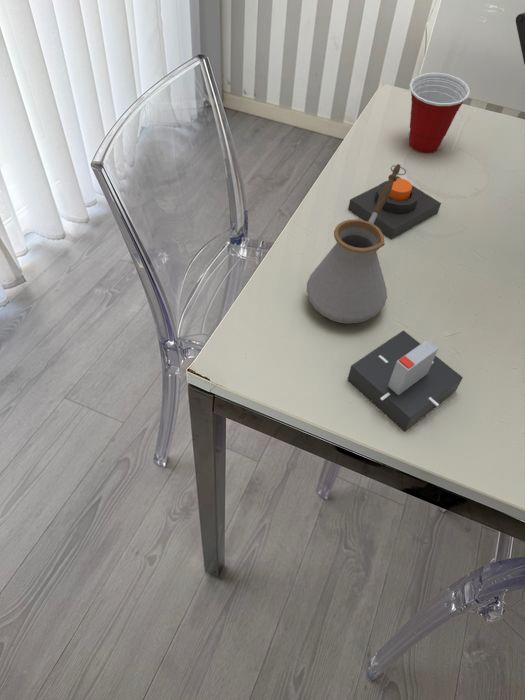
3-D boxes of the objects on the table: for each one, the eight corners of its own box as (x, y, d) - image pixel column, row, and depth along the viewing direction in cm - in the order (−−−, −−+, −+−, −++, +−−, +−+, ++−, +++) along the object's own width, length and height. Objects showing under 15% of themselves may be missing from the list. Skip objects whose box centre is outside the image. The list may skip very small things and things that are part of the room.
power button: (396, 184, 97) (399, 175, 95) (414, 195, 95) (417, 186, 94) (380, 192, 95) (382, 183, 94) (398, 203, 93) (401, 194, 92)
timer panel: (398, 344, 78) (403, 329, 76) (461, 395, 73) (469, 380, 71) (342, 382, 74) (346, 367, 71) (405, 440, 68) (411, 426, 66)
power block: (394, 186, 103) (399, 166, 100) (437, 213, 98) (444, 194, 95) (347, 210, 98) (351, 190, 94) (390, 240, 93) (396, 220, 90)
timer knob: (416, 365, 72) (427, 338, 68) (427, 373, 71) (439, 347, 67) (387, 386, 70) (397, 359, 66) (398, 395, 69) (408, 369, 65)
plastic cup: (386, 148, 111) (400, 87, 102) (409, 126, 117) (425, 66, 108) (437, 167, 107) (456, 106, 98) (459, 144, 113) (479, 84, 104)
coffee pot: (366, 345, 78) (390, 262, 66) (291, 315, 81) (301, 230, 69) (413, 256, 90) (440, 173, 79) (346, 233, 93) (363, 150, 82)
